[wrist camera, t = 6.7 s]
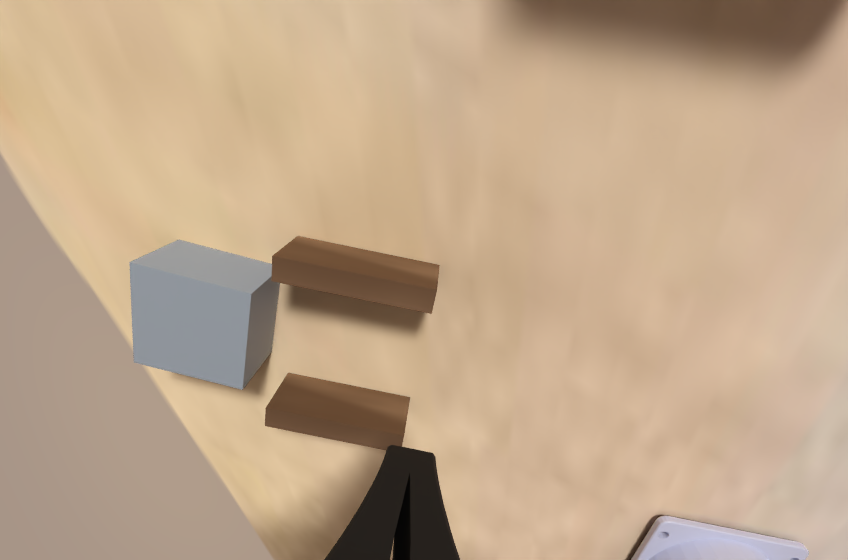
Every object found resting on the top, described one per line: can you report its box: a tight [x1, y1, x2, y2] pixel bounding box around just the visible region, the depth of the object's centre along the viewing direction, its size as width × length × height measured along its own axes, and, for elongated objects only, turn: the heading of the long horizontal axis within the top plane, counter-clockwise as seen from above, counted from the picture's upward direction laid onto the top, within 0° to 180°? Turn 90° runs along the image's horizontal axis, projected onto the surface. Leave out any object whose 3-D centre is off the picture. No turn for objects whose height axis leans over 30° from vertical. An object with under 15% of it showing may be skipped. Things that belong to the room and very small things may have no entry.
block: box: [130, 240, 280, 390], centre depth 17 cm, size 4×4×3 cm
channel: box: [265, 236, 439, 450], centre depth 17 cm, size 8×6×2 cm
